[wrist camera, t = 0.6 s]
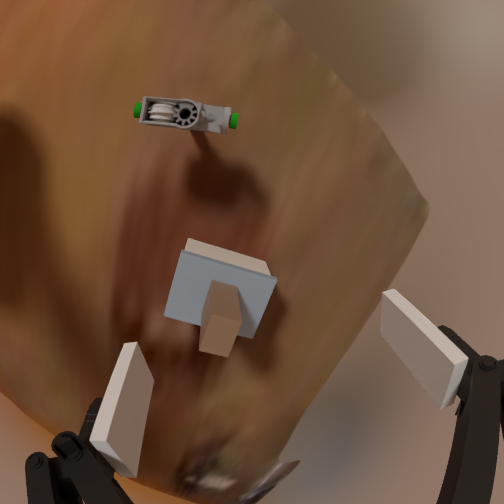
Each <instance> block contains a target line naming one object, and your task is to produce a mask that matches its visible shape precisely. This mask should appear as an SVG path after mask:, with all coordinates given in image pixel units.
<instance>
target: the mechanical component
mask: <svg viewBox="0 0 504 504" xmlns="http://www.w3.org/2000/svg"><path fill="white" fill-rule="evenodd" d="M230 112H231V108H230V107H218V106H211V105H203V104H202V103H196V102H195V101H193V100H191V99H171V98H159V97H145V96H144V97H143V102H142V103H136V104H135V107H134V117H135V118H140V119H139V123H142V124H146V125H151V126H161V127H171V128H180V129H182V130H197V131H204V132H212V133H219V134H226V133H227V128H228V125H230V126H229V128H232V129H236V125H237V120H238V114H235V113H232V115H231V116H230Z"/></svg>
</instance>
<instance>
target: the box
mask: <svg viewBox="0 0 504 504" xmlns="http://www.w3.org/2000/svg"><path fill="white" fill-rule="evenodd" d="M185 250H186V251H189V252H192V253H196V254H199V255H202V256H206V257H209V258H212V259H216V260H219V261H222V262H226V263H229V264H233V265H236V266H239V267H243V268H246V269H250V270H253V271H256V272H260V273H263V274H267V275H270V276H271V274H270V272H269V269H268V267H267V264H266V262H265V261H263V260H259V259H256V258H253V257H249V256H246V255H243V254H239V253H236V252H233V251H230V250H226V249H223V248H220V247H216V246H213V245H210V244H206V243H203V242H200V241H197V240H193V239H190V238H188V240H187V243H186V247H185Z"/></svg>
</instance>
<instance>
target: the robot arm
mask: <svg viewBox="0 0 504 504" xmlns="http://www.w3.org/2000/svg"><path fill="white" fill-rule="evenodd" d="M380 334H381V335H382V336H383V337H384V339H385V340H386V341H387V342H388V344H389V345H390V346H391V347H392V349H393V350H394V351H395V352H396V354H397V355H398V356H399V357H400V359H401V360H402V361H403V362H404V364H405V365H406V366H407V367H408V369H409V370H410V371H411V373H412V374H413V375H414V376H415V378H416V379H417V380H418V382H419V383H420V384H421V386H422V387H423V388H424V389H425V391H426V392H427V393H428V395H429V396H430V398H431V399H432V400H433V401H434V403H435V404H436V406H437V407H438V408H439V410H442V409H444V408H446V407H448V406H450V405H452V404H453V403H454V400H455V398H456V395H458V397H459V398H460V399H461V401H460V403H459V406H458V408H457V411H456V413H455V415H457V414H458V415H457V422H456V427H455V433H454V438H453V443H452V448H451V452H450V457H449V461H448V465H447V469H446V473H445V477H444V480H443V484H442V487H441V491H440V494H439V497H438V500H437V503H436V504H489V503H490V498H491V494H492V489H493V482H494V477H495V470H496V463H497V454H498V444H499V431H500V424H501V428H502V433H503V439H504V359H503V360H499V361H497V360H496V359H495V358H493V357H491V356H487V355H484V356H480V355H478V354H477V353H476V352H475V351H474V350H473V349H472V348H471V347H470V346H469V345H468V344H467V343H466V342H465V341H463V340H462V339H461V338H460V337H459V336H457V334H456V333H455V332H454V331H453V330H452V329H450V328H448V327H446V326H443V325H441V326H439V327H436V326H435V325H434V324H432V323H431V322H430V321H429V320H428V319H427V318H426V317H425V316H424V315H423V314H422V313H420V311H418V310H417V309H416V308H415V307H414V306H413V305H412V304H411V303H409V302H408V301H407V300H406V299H405V298H404V297H403V296H402V295H401V294H400V293H398V292H397V291H396V290H395V289H391V290H388V291H384V292H382V314H381V332H380ZM153 384H154V379H153V377H152V374H151V372H150V370H149V368H148V366H147V363H146V361H145V359H144V357H143V354H142V352H141V350H140V347H139V345H138V343H137V342H132V343H124V345H123V348H122V350H121V353H120V355H119V358H118V361H117V363H116V366H115V368H114V371H113V374H112V376H111V379H110V382H109V384H108V387H107V390H106V392H105V395H104V398H96V399H95V400H94V401H93V402H92V404H91V405H90V406H89V409H88V412H87V415H86V417H85V420H84V421H85V422H83V425H82V428H81V431H80V433H79V436H77V435H76V434H75V433H73V432H71V431H65V432H62V433H60V434H58V435H57V436H56V437H55V438H54V439H53V441H52V445H51V447H52V450H53V451H54V453H55V454H56V455H57V456H58V457H54V458H48V457H47V456H46V455H45V454H44V453H42V452H35V453H33V454H31V455H30V456H29V457H28V458H27V460H26V464H25V473H26V486H27V496H28V504H83V501H84V502H85V504H134V503H133V502H132V501H131V500H130V498H129V497H128V496H127V494H126V493H125V492H124V490H123V489H122V488H121V486H120V485H119V483H118V482H117V481H116V480H115V479H114V478H113V476H114V472H115V471H116V472H117V473H118V474H119V475H120V477H135V478H137V471H138V465H139V459H140V453H141V447H142V441H143V435H144V430H145V424H146V419H147V414H148V409H149V404H150V399H151V394H152V389H153ZM82 499H83V501H82Z"/></svg>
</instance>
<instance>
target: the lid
mask: <svg viewBox="0 0 504 504" xmlns="http://www.w3.org/2000/svg"><path fill="white" fill-rule="evenodd" d="M276 282H277V279H276V277H274V276H270V275H267V274H263V273H260V272H256V271H253V270H250V269H246V268H243V267H239V266H236V265H233V264H229V263H226V262H222V261H219V260H216V259H212V258H209V257H206V256H202V255H199V254H196V253H192V252H189V251H186V250H182V251H181V254H180V257H179V261H178V264H177V268H176V271H175V275H174V279H173V282H172V286H171V290H170V294H169V297H168V301H167V305H166V309H165V313H164V316H166V317H170V318H173V319H177V320H180V321H184V322H188V323H191V324H195V325H199V326H201V328H200V344H199V351H203V352H207V353H211V354H216V355H220V356H224V357H228V356H229V354H230V351H231V349H232V346H233V344H234V341H235V339H236V336H237V335H238V336H243V337H247V338H251V339H253V337H254V334H255V332H256V330H257V327H258V325H259V323H260V320H261V318H262V316H263V313H264V311H265V308H266V306H267V304H268V301H269V299H270V296H271V294H272V292H273V289H274V287H275V284H276Z"/></svg>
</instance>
